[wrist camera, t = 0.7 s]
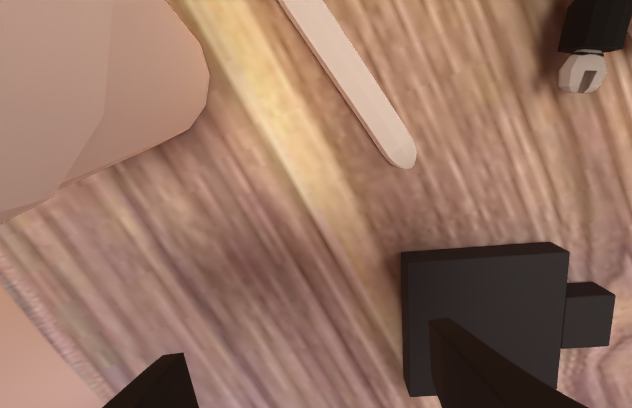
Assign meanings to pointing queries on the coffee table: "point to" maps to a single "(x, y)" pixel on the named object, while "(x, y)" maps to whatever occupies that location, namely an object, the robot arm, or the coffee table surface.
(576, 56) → the robot toy
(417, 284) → the graphite pad
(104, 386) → the coffee table surface
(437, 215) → the coffee table surface
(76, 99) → the foam cup
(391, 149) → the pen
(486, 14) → the coffee table surface
